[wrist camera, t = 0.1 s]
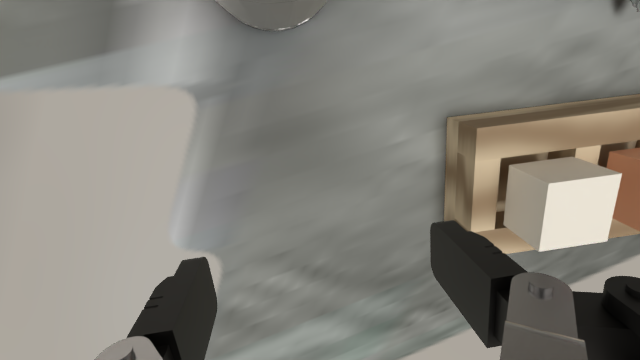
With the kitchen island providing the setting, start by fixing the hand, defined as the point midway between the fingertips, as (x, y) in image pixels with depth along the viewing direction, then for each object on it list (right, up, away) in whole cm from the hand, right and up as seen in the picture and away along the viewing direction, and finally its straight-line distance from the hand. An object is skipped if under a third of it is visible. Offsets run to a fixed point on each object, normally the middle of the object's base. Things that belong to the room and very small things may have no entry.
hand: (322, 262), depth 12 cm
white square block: (+17, +2, +14) cm, 22 cm away
